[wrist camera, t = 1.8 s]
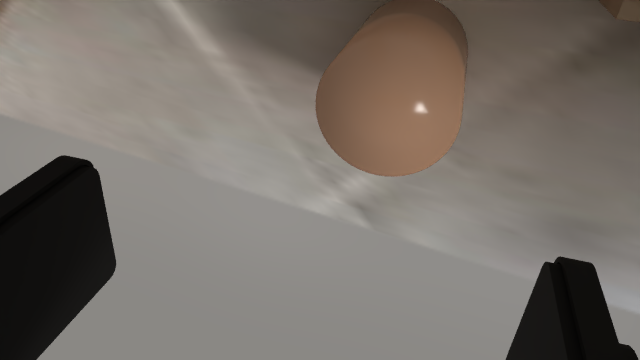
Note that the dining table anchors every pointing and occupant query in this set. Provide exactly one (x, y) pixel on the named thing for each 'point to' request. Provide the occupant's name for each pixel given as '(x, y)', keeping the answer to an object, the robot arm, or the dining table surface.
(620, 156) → the dining table surface
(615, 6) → the base block
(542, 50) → the dining table surface
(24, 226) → the robot arm
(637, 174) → the dining table surface
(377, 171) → the tan rounded capsule
